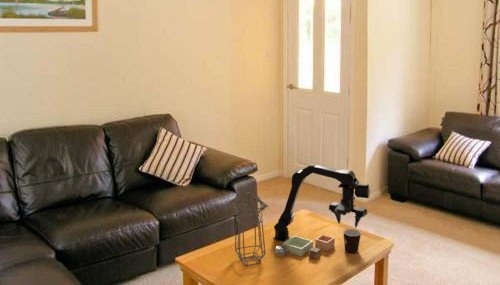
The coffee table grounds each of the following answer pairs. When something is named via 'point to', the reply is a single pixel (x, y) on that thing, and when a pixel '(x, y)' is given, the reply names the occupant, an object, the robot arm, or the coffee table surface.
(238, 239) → the geometric lantern
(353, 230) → the coffee mug
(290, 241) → the bin
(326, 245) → the open square box
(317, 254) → the walnut block
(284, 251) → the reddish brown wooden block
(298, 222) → the coffee table surface
